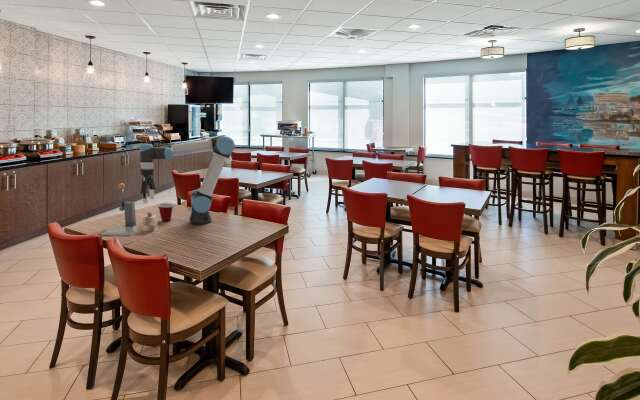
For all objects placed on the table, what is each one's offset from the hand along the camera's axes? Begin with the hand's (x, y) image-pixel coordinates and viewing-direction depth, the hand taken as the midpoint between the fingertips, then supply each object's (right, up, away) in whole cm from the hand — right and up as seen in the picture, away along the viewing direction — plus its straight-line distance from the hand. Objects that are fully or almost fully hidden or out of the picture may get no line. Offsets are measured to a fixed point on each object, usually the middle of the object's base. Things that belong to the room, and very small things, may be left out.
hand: (148, 201), depth 263 cm
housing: (0, -19, +4) cm, 19 cm away
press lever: (-21, -6, +9) cm, 24 cm away
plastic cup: (+2, -14, +27) cm, 30 cm away
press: (-16, -19, +1) cm, 25 cm away
